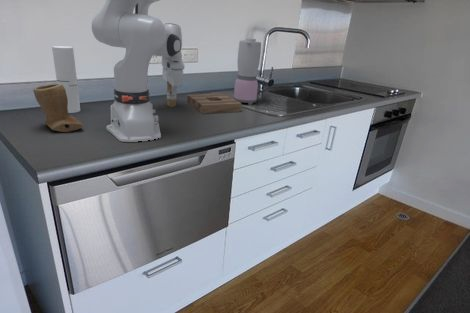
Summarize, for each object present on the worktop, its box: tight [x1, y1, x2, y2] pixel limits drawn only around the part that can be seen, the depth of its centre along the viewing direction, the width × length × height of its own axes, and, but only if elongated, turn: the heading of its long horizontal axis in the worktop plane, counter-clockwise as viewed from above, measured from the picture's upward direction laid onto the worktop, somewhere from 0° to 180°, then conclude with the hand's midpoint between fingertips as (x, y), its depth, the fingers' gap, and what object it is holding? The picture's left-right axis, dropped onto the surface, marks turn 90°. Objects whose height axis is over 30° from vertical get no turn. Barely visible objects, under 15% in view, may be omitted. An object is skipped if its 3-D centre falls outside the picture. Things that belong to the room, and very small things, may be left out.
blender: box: [233, 37, 262, 106], centre depth 164 cm, size 16×12×32 cm
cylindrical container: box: [51, 45, 81, 114], centre depth 126 cm, size 7×7×25 cm
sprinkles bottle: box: [166, 77, 177, 108], centre depth 148 cm, size 5×5×14 cm
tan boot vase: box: [33, 83, 84, 133], centre depth 109 cm, size 15×12×15 cm
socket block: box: [186, 93, 243, 115], centre depth 153 cm, size 20×20×4 cm
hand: (171, 92), depth 148 cm, fingers closed on sprinkles bottle, 4 cm apart
